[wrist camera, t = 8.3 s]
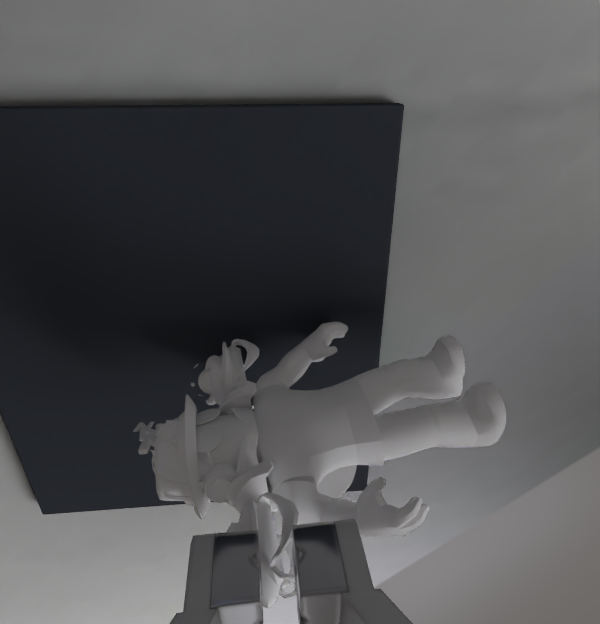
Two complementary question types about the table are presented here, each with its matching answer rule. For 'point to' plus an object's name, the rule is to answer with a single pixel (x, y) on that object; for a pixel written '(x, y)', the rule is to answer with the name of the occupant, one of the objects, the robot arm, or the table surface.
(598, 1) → the table surface
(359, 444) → the cartoon character statuette
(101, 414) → the mat
